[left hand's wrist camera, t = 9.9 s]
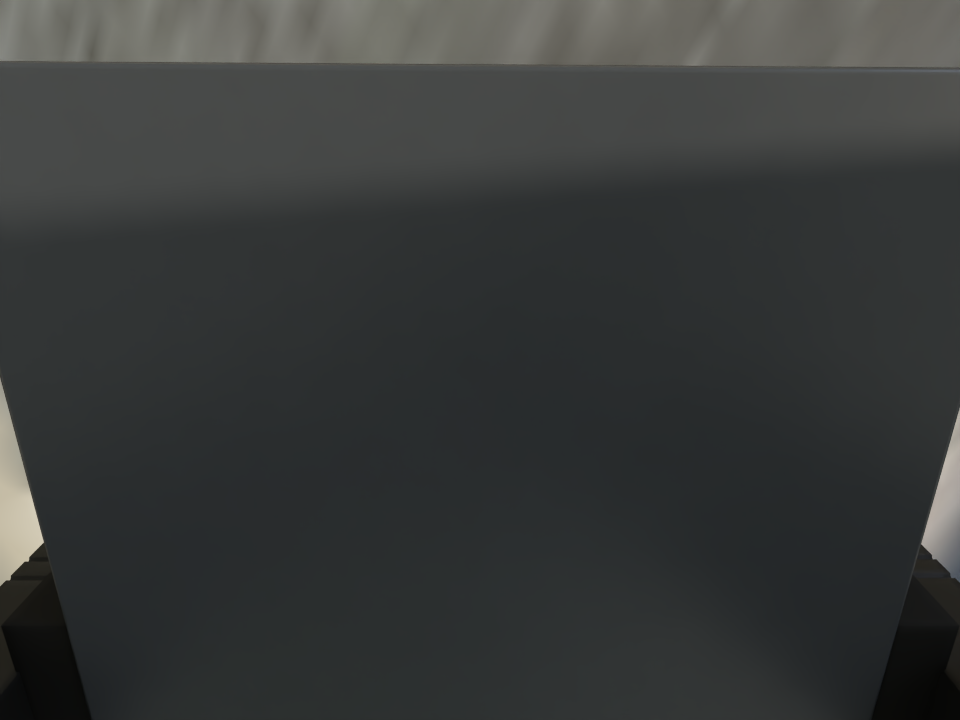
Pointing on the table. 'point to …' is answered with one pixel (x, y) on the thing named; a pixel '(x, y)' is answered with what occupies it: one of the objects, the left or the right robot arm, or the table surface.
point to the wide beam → (480, 381)
